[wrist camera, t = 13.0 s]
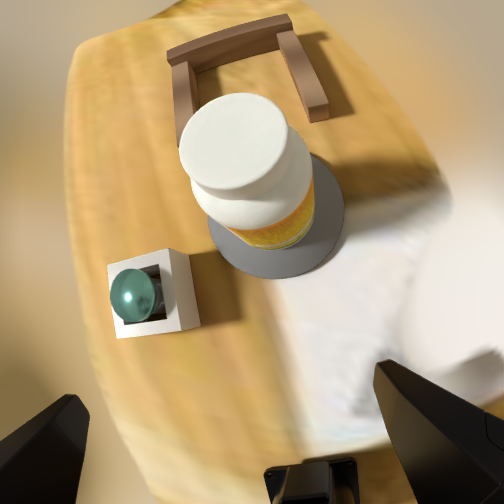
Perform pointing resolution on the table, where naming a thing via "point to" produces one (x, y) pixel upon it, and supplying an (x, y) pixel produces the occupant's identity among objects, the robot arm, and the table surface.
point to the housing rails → (238, 47)
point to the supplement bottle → (250, 170)
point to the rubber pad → (302, 252)
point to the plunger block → (174, 291)
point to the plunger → (136, 295)
